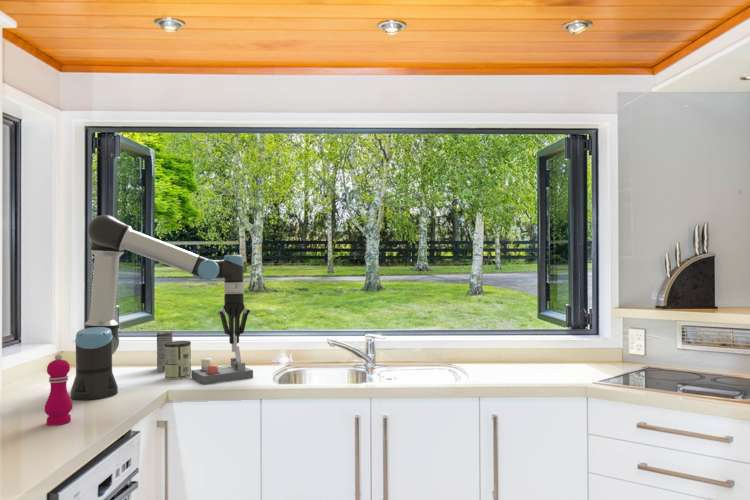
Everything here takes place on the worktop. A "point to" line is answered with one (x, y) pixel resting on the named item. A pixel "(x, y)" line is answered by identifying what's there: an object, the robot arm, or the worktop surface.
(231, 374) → the panel
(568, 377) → the worktop surface
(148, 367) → the worktop surface
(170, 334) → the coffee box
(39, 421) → the worktop surface
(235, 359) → the slider knob
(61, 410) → the pepper mill
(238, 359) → the lever
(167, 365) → the coffee can
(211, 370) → the button red
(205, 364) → the button ivory
